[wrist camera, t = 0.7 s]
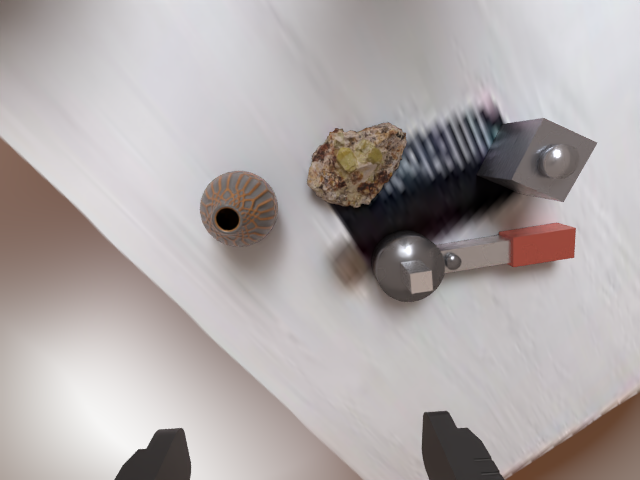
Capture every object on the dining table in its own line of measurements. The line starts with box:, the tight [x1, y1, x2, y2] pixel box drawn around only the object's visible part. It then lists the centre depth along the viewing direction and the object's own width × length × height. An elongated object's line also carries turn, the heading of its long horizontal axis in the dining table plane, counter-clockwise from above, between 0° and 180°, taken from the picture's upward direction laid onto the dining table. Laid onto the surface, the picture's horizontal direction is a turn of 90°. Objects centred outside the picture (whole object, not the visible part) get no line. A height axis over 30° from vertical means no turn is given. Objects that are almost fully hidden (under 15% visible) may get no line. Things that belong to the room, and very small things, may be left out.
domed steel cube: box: [477, 118, 597, 202], centre depth 30 cm, size 5×5×7 cm
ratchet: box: [371, 223, 576, 302], centre depth 33 cm, size 7×21×6 cm, turn 99°
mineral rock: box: [307, 122, 407, 207], centre depth 32 cm, size 11×4×8 cm
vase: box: [200, 171, 278, 246], centre depth 30 cm, size 7×7×9 cm
